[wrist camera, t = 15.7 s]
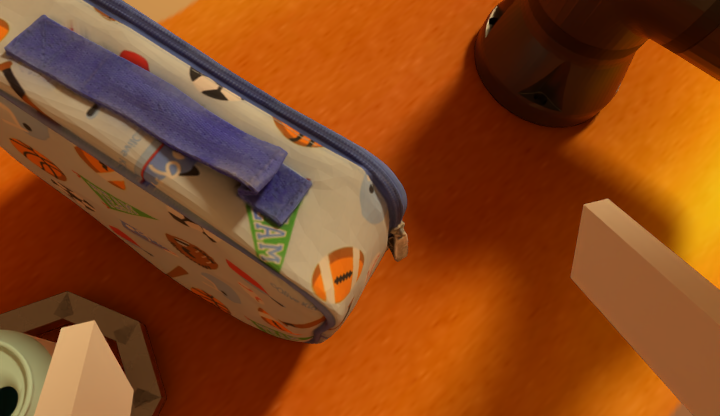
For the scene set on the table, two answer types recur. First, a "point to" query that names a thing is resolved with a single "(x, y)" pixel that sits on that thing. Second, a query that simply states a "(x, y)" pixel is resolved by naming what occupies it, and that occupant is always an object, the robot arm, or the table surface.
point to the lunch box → (196, 165)
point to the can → (22, 371)
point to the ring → (111, 325)
